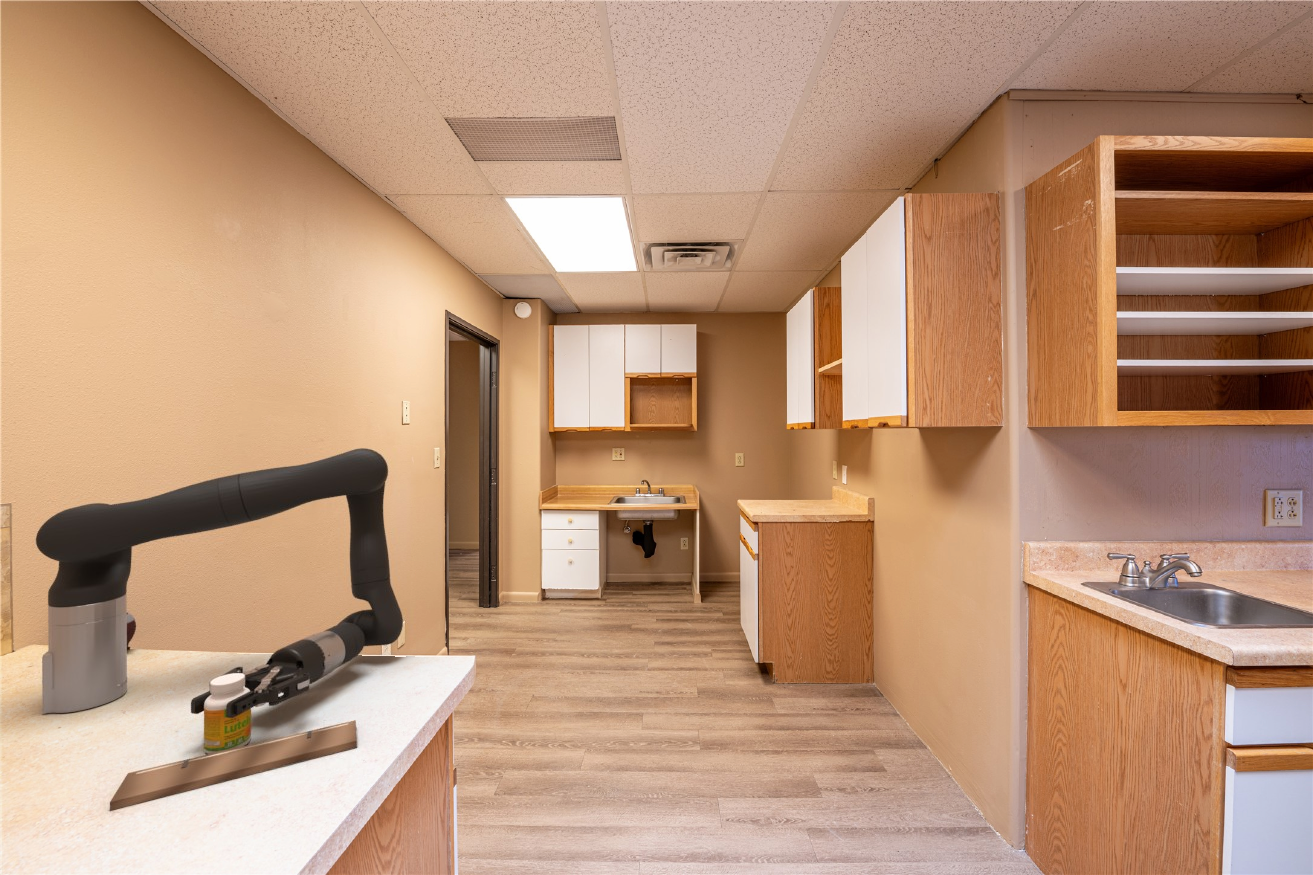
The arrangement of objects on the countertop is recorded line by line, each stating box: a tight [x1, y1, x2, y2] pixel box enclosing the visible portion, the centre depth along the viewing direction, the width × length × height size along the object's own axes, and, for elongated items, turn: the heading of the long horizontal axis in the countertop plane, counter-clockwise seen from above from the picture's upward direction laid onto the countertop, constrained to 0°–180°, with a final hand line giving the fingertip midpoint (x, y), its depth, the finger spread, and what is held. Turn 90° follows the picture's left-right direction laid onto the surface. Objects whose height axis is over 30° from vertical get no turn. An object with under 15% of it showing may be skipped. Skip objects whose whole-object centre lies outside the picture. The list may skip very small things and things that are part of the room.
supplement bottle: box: [203, 673, 252, 755], centre depth 79 cm, size 5×5×10 cm
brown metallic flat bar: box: [109, 719, 358, 811], centre depth 74 cm, size 26×6×1 cm, turn 120°
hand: (211, 709), depth 76 cm, fingers closed on supplement bottle, 5 cm apart
